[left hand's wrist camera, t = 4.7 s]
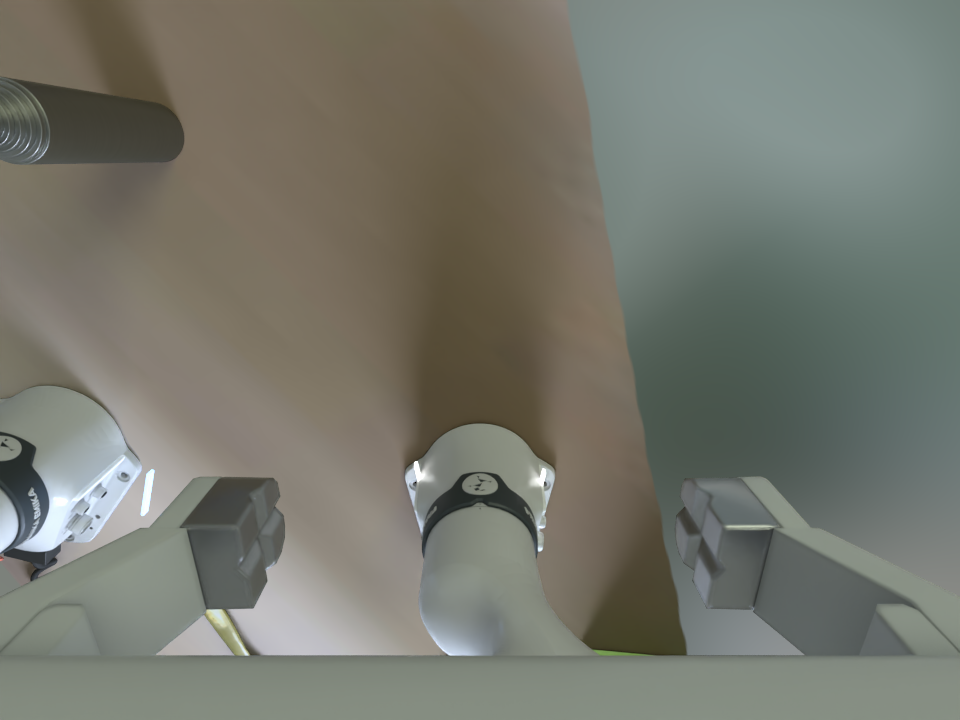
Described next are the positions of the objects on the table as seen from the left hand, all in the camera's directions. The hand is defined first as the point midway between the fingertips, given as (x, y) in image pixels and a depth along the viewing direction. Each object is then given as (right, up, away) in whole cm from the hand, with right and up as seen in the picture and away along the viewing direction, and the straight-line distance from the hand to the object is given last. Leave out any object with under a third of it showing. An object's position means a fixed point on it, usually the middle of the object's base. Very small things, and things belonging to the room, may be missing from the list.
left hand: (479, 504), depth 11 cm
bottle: (-32, +26, +42) cm, 58 cm away
